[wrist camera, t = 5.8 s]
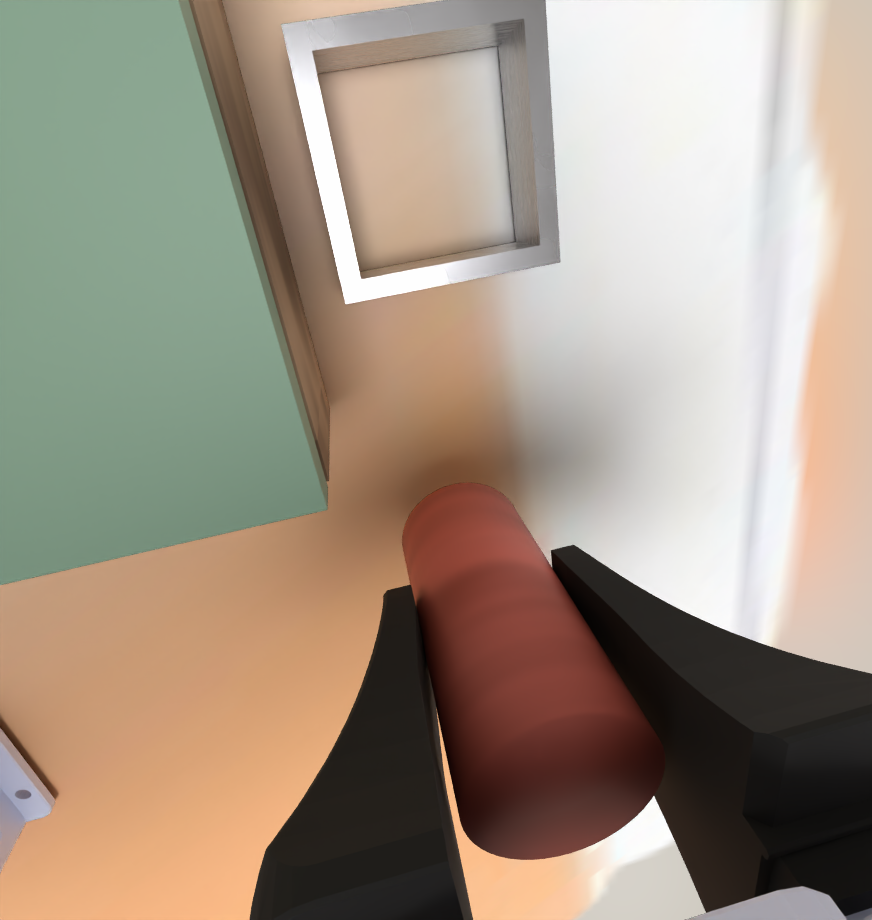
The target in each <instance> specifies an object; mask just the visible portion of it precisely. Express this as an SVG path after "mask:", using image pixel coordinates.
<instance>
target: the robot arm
mask: <svg viewBox="0 0 872 920" xmlns="http://www.w3.org/2000/svg"><path fill="white" fill-rule="evenodd" d="M551 557H552V569H553V570H554V572H555V573H556V575H557V576H558V578H559V580H560V581H561V583H562V584H563V586H564V588H565V589H566V591H567V592H568V594H569V596H570V597H571V599H572V600H573V602H574V604H575V605H576V607H577V608H578V610H579V612H580V613H581V615H582V616H583V618H584V620H585V621H586V623H587V624H588V626H589V628H590V629H591V631H592V632H593V634H594V636H595V637H596V639H597V640H598V642H599V643H600V645H601V647H602V648H603V650H604V651H605V653H606V655H607V656H608V658H609V659H610V661H611V663H612V664H613V666H614V667H615V669H616V671H617V672H618V674H619V675H620V677H621V679H622V680H623V682H624V683H625V685H626V687H627V688H628V690H629V691H630V693H631V695H632V696H633V698H634V699H635V701H636V702H637V704H638V706H639V707H640V709H641V710H642V712H643V714H644V715H645V717H646V718H647V720H648V722H649V723H650V725H651V726H652V728H653V730H654V731H655V733H656V734H657V736H658V738H659V739H660V741H661V743H662V745H663V749H664V752H665V770H664V774H663V777H662V781H661V783H660V785H659V787H658V789H657V791H656V793H655V794H654V796H655V799H656V801H657V803H658V805H659V807H660V809H661V811H662V814H663V816H664V818H665V820H666V822H667V824H668V827H669V829H670V831H671V833H672V835H673V838H674V840H675V842H676V844H677V847H678V849H679V851H680V853H681V856H682V858H683V860H684V862H685V864H686V867H687V869H688V871H689V873H690V876H691V878H692V881H693V883H694V885H695V888H696V890H697V892H698V895H699V897H700V899H701V902H702V904H703V906H704V909H705V911H706V913H704V914H701V915H698V916H695V917H692V918H689V919H685V920H872V674H870V673H866V672H862V671H858V670H853V669H849V668H845V667H841V666H836V665H832V664H828V663H824V662H820V661H816V660H812V659H809V658H806V657H802V656H799V655H795V654H792V653H788V652H785V651H782V650H779V649H776V648H773V647H770V646H767V645H764V644H761V643H758V642H756V641H753V640H750V639H748V638H745V637H742V636H739V635H737V634H734V633H731V632H729V631H726V630H724V629H722V628H719V627H717V626H714V625H712V624H710V623H708V622H706V621H703V620H701V619H699V618H697V617H694V616H692V615H690V614H688V613H686V612H684V611H682V610H680V609H678V608H676V607H674V606H672V605H670V604H668V603H667V602H665V601H663V600H661V599H659V598H657V597H655V596H654V595H652V594H650V593H648V592H647V591H645V590H643V589H641V588H640V587H638V586H636V585H635V584H633V583H632V582H630V581H628V580H627V579H625V578H623V577H622V576H620V575H619V574H617V573H616V572H614V571H613V570H611V569H610V568H608V567H607V566H605V565H603V564H602V563H600V562H599V561H597V560H596V559H594V558H593V557H592V556H590V555H589V554H587V553H586V552H584V551H583V550H581V549H579V548H578V547H576V546H575V545H571V546H567V547H563V548H559V549H555V550H551ZM54 804H55V799H54V797H53V796H52V795H51V794H50V792H49V791H48V790H47V788H46V787H45V786H44V784H43V783H42V782H41V780H40V779H39V778H38V777H37V775H36V774H35V773H34V771H33V770H32V769H31V767H30V766H29V765H28V763H27V762H26V761H25V760H24V758H23V757H22V756H21V754H20V753H19V752H18V750H17V749H16V748H15V746H14V745H13V744H12V743H11V741H10V740H9V739H8V737H7V736H6V735H5V733H4V732H3V731H2V730H1V728H0V873H1V871H2V869H3V867H4V865H5V863H6V861H7V859H8V857H9V855H10V853H11V851H12V849H13V847H14V845H15V843H16V841H17V839H18V837H19V835H20V833H21V831H22V829H23V827H24V825H25V823H26V822H28V821H32V820H36V819H39V818H43V817H45V816H47V815H49V814H50V813H51V811H52V809H53V807H54ZM250 920H473V917H472V912H471V908H470V903H469V898H468V893H467V888H466V883H465V878H464V874H463V869H462V864H461V859H460V854H459V849H458V844H457V839H456V835H455V830H454V825H453V820H452V815H451V810H450V805H449V800H448V795H447V790H446V784H445V777H444V770H443V762H442V753H441V745H440V736H439V727H438V719H437V710H436V703H435V699H434V694H433V689H432V684H431V680H430V675H429V670H428V665H427V661H426V656H425V650H424V644H423V638H422V632H421V627H420V623H419V618H418V613H417V608H416V604H415V600H414V595H413V591H412V587H411V585H408V586H403V587H399V588H395V589H391V590H387V591H386V593H385V594H384V596H383V609H382V615H381V621H380V625H379V630H378V634H377V638H376V641H375V645H374V649H373V653H372V656H371V659H370V662H369V665H368V668H367V671H366V674H365V677H364V680H363V683H362V685H361V688H360V691H359V693H358V696H357V698H356V701H355V703H354V705H353V708H352V710H351V712H350V714H349V717H348V719H347V721H346V723H345V725H344V727H343V729H342V731H341V733H340V735H339V737H338V739H337V741H336V743H335V745H334V747H333V749H332V751H331V752H330V754H329V756H328V758H327V760H326V761H325V763H324V765H323V766H322V768H321V770H320V771H319V773H318V774H317V776H316V778H315V779H314V781H313V783H312V784H311V786H310V787H309V789H308V791H307V792H306V794H305V796H304V797H303V799H302V800H301V802H300V803H299V805H298V806H297V808H296V809H295V810H294V812H293V813H292V815H291V816H290V817H289V819H288V820H287V821H286V823H285V824H284V826H283V827H282V828H281V830H280V831H279V832H278V834H277V835H276V837H275V838H274V839H273V841H272V842H271V843H270V845H269V846H268V847H267V849H266V851H265V854H264V857H263V861H262V865H261V868H260V872H259V875H258V880H257V884H256V888H255V893H254V897H253V902H252V907H251V914H250Z"/></svg>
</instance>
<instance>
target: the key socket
mask: <svg viewBox="0 0 872 920" xmlns="http://www.w3.org/2000/svg"><path fill="white" fill-rule="evenodd" d="M281 26H282V31H283V35H284V39H285V44H286V48H287V52H288V57H289V61H290V65H291V70H292V74H293V78H294V83H295V87H296V91H297V96H298V100H299V104H300V109H301V113H302V117H303V122H304V126H305V130H306V135H307V139H308V143H309V148H310V152H311V156H312V161H313V165H314V169H315V174H316V178H317V182H318V187H319V191H320V195H321V200H322V204H323V208H324V213H325V217H326V221H327V226H328V230H329V234H330V239H331V243H332V247H333V252H334V256H335V260H336V265H337V269H338V274H339V278H340V282H341V287H342V291H343V295H344V300H345V304H350V303H355V302H360V301H365V300H370V299H375V298H381V297H386V296H391V295H396V294H401V293H406V292H411V291H416V290H421V289H426V288H432V287H437V286H442V285H447V284H452V283H457V282H462V281H467V280H472V279H478V278H483V277H488V276H493V275H498V274H503V273H508V272H513V271H518V270H524V269H529V268H534V267H539V266H544V265H549V264H554V263H559V262H560V248H559V230H558V213H557V195H556V177H555V160H554V142H553V125H552V107H551V90H550V72H549V55H548V37H547V19H546V2H545V0H443V1H436V2H429V3H423V4H416V5H409V6H402V7H395V8H388V9H382V10H375V11H368V12H361V13H354V14H347V15H341V16H334V17H327V18H320V19H313V20H307V21H300V22H293V23H286V24H281ZM497 45H498V49H499V60H500V71H501V82H502V94H503V105H504V116H505V127H506V138H507V149H508V160H509V171H510V183H511V194H512V205H513V216H514V227H515V238H516V242H513V243H508V244H503V245H498V246H493V247H487V248H482V249H477V250H472V251H466V252H461V253H456V254H451V255H445V256H440V257H435V258H430V259H424V260H419V261H414V262H409V263H403V264H398V265H393V266H388V267H382V268H377V269H372V270H367V271H361V272H359V268H358V263H357V259H356V254H355V249H354V245H353V240H352V235H351V231H350V226H349V221H348V217H347V212H346V207H345V203H344V198H343V193H342V189H341V184H340V179H339V175H338V170H337V165H336V161H335V156H334V151H333V146H332V142H331V137H330V132H329V128H328V123H327V118H326V114H325V109H324V104H323V100H322V95H321V90H320V86H319V81H318V76H317V73H324V72H330V71H337V70H343V69H350V68H356V67H362V66H369V65H375V64H382V63H388V62H395V61H401V60H407V59H414V58H420V57H427V56H433V55H440V54H446V53H452V52H459V51H465V50H472V49H478V48H484V47H491V46H497Z"/></svg>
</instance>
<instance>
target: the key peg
mask: <svg viewBox="0 0 872 920" xmlns="http://www.w3.org/2000/svg"><path fill="white" fill-rule="evenodd" d="M402 545H403V551H404V556H405V561H406V566H407V570H408V575H409V580H410V585H411V587H412V591H413V595H414V600H415V604H416V608H417V613H418V618H419V623H420V627H421V632H422V638H423V644H424V650H425V656H426V661H427V665H428V670H429V675H430V680H431V684H432V689H433V694H434V699H435V703H436V708H437V713H438V718H439V722H440V727H441V732H442V737H443V741H444V746H445V751H446V756H447V760H448V765H449V770H450V775H451V779H452V784H453V789H454V794H455V798H456V803H457V808H458V813H459V817H460V822H461V825H462V828H463V830H464V832H465V833H466V835H467V837H468V838H469V839H470V840H471V841H472V842H473V843H474V844H475V845H477V846H478V847H479V848H481V849H483V850H485V851H487V852H489V853H491V854H494V855H497V856H500V857H505V858H510V859H520V860H535V859H545V858H551V857H557V856H561V855H565V854H569V853H572V852H575V851H578V850H581V849H584V848H586V847H588V846H591V845H593V844H595V843H597V842H599V841H601V840H603V839H605V838H607V837H609V836H610V835H612V834H613V833H615V832H617V831H618V830H620V829H621V828H622V827H624V826H625V825H626V824H628V823H629V822H630V821H631V820H632V819H634V818H635V817H636V816H637V815H638V814H639V813H640V812H641V811H642V810H643V809H644V808H645V806H646V805H647V804H648V803H649V801H650V800H651V799H652V797H653V796H654V794H655V793H656V791H657V789H658V787H659V785H660V783H661V781H662V777H663V774H664V770H665V752H664V749H663V745H662V743H661V741H660V739H659V738H658V736H657V734H656V733H655V731H654V730H653V728H652V726H651V725H650V723H649V722H648V720H647V718H646V717H645V715H644V714H643V712H642V710H641V709H640V707H639V706H638V704H637V702H636V701H635V699H634V698H633V696H632V695H631V693H630V691H629V690H628V688H627V687H626V685H625V683H624V682H623V680H622V679H621V677H620V675H619V674H618V672H617V671H616V669H615V667H614V666H613V664H612V663H611V661H610V659H609V658H608V656H607V655H606V653H605V651H604V650H603V648H602V647H601V645H600V643H599V642H598V640H597V639H596V637H595V636H594V634H593V632H592V631H591V629H590V628H589V626H588V624H587V623H586V621H585V620H584V618H583V616H582V615H581V613H580V612H579V610H578V608H577V607H576V605H575V604H574V602H573V600H572V599H571V597H570V596H569V594H568V592H567V591H566V589H565V588H564V586H563V584H562V583H561V581H560V580H559V578H558V576H557V575H556V573H555V572H554V570H553V569H552V567H551V565H550V564H549V562H548V561H547V559H546V557H545V556H544V554H543V553H542V551H541V549H540V548H539V546H538V545H537V543H536V541H535V540H534V538H533V537H532V535H531V533H530V532H529V530H528V529H527V527H526V525H525V524H524V522H523V521H522V519H521V517H520V516H519V514H518V513H517V511H516V510H515V508H514V506H513V505H512V503H511V502H510V501H509V499H508V498H507V497H505V496H504V495H503V494H502V493H501V492H499V491H498V490H496V489H494V488H492V487H489V486H486V485H483V484H478V483H458V484H453V485H449V486H446V487H443V488H441V489H438V490H436V491H435V492H433V493H431V494H429V495H428V496H427V497H425V498H424V499H423V500H422V501H421V502H420V503H419V504H418V505H417V506H416V507H415V508H414V509H413V511H412V512H411V514H410V515H409V517H408V519H407V521H406V523H405V527H404V530H403V536H402Z"/></svg>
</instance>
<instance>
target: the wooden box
mask: <svg viewBox="0 0 872 920" xmlns="http://www.w3.org/2000/svg"><path fill="white" fill-rule="evenodd" d="M188 1H189V4H190V8H191V11H192V15H193V18H194V22H195V25H196V29H197V32H198V36H199V39H200V43H201V46H202V50H203V53H204V57H205V60H206V64H207V67H208V71H209V74H210V78H211V81H212V85H213V88H214V91H215V95H216V98H217V102H218V105H219V109H220V112H221V116H222V119H223V123H224V126H225V130H226V133H227V137H228V140H229V144H230V147H231V151H232V154H233V158H234V161H235V165H236V168H237V172H238V175H239V179H240V182H241V186H242V189H243V193H244V196H245V200H246V203H247V207H248V210H249V214H250V217H251V221H252V224H253V228H254V231H255V235H256V238H257V242H258V245H259V249H260V252H261V256H262V259H263V263H264V266H265V270H266V273H267V276H268V280H269V283H270V287H271V290H272V294H273V297H274V301H275V304H276V308H277V311H278V315H279V318H280V322H281V325H282V329H283V332H284V336H285V339H286V343H287V346H288V350H289V353H290V357H291V360H292V364H293V367H294V371H295V374H296V378H297V381H298V385H299V388H300V392H301V395H302V399H303V402H304V406H305V409H306V413H307V416H308V420H309V423H310V427H311V430H312V434H313V437H314V441H315V444H316V448H317V451H318V455H319V458H320V461H321V465H322V468H323V472H324V475H325V479H326V481H329V435H330V408H329V404H328V400H327V396H326V392H325V389H324V385H323V381H322V377H321V374H320V370H319V366H318V362H317V359H316V355H315V351H314V347H313V343H312V340H311V336H310V332H309V328H308V325H307V321H306V317H305V313H304V310H303V306H302V302H301V298H300V294H299V291H298V287H297V283H296V279H295V276H294V272H293V268H292V264H291V261H290V257H289V253H288V249H287V245H286V242H285V238H284V234H283V230H282V227H281V223H280V219H279V215H278V211H277V208H276V204H275V200H274V196H273V193H272V189H271V185H270V181H269V178H268V174H267V170H266V166H265V162H264V159H263V155H262V151H261V147H260V144H259V140H258V136H257V132H256V129H255V125H254V121H253V117H252V113H251V110H250V106H249V102H248V98H247V95H246V91H245V87H244V83H243V80H242V76H241V72H240V68H239V64H238V61H237V57H236V53H235V49H234V46H233V42H232V38H231V34H230V30H229V27H228V23H227V19H226V15H225V12H224V8H223V4H222V0H188Z"/></svg>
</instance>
